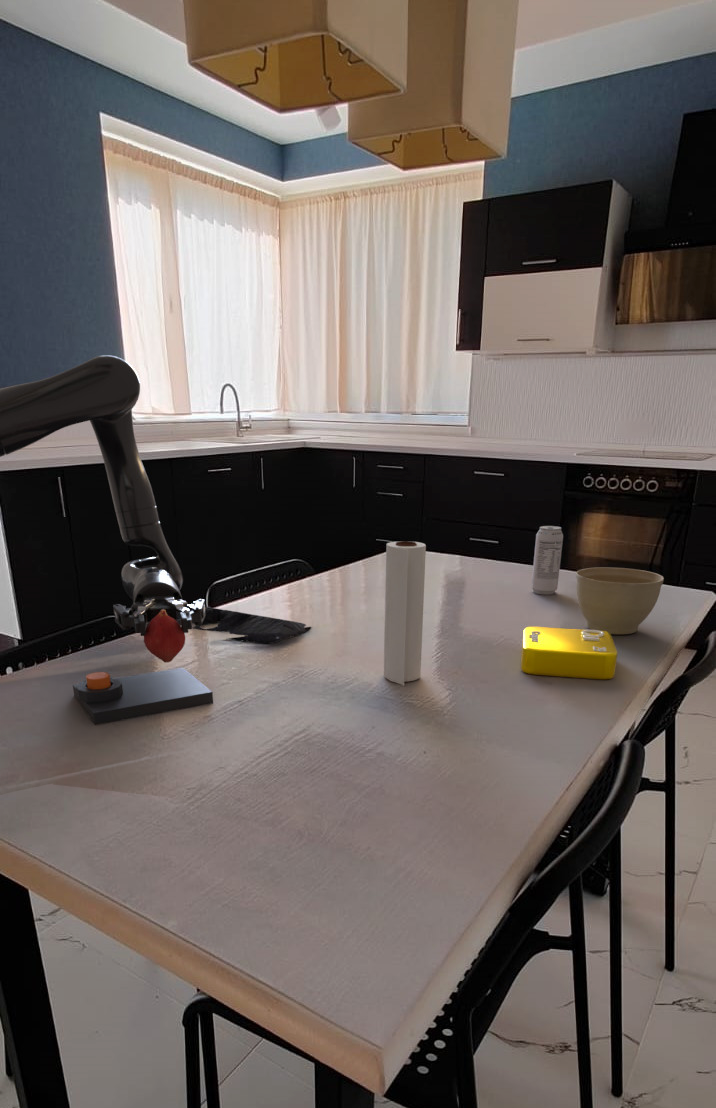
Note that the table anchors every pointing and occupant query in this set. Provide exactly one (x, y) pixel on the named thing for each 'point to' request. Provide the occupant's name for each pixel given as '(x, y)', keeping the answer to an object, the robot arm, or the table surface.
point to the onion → (164, 637)
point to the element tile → (568, 653)
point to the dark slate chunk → (252, 626)
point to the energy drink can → (547, 560)
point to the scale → (142, 695)
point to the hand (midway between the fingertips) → (164, 627)
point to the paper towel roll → (404, 610)
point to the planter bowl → (617, 597)
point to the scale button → (98, 680)
